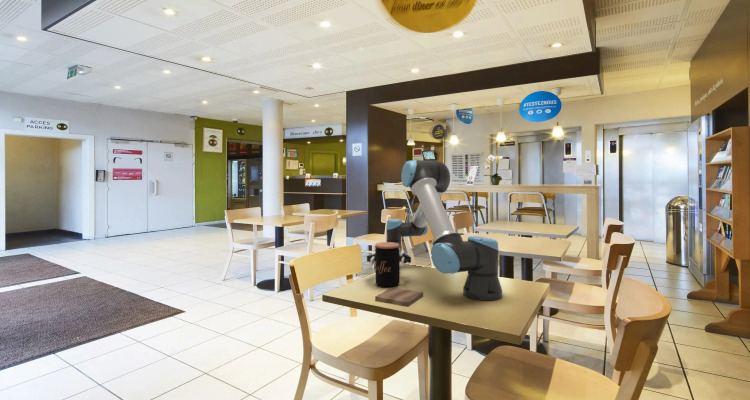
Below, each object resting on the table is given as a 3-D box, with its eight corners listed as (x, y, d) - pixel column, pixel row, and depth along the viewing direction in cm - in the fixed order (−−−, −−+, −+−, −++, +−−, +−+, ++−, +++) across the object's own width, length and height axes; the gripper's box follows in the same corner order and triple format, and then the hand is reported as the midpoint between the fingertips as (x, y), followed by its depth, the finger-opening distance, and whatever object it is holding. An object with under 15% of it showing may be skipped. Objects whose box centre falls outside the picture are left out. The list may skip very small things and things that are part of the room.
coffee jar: (370, 284, 169) (370, 244, 168) (387, 280, 176) (387, 241, 175) (387, 289, 161) (387, 247, 160) (404, 284, 168) (404, 244, 167)
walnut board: (423, 296, 152) (423, 292, 152) (408, 306, 140) (408, 302, 140) (392, 290, 159) (392, 287, 159) (375, 300, 147) (375, 296, 147)
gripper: (417, 261, 186) (415, 272, 165) (366, 260, 190) (358, 270, 169) (417, 246, 186) (415, 255, 165) (366, 245, 189) (358, 253, 168)
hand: (386, 263), depth 167 cm, fingers open, 13 cm apart
